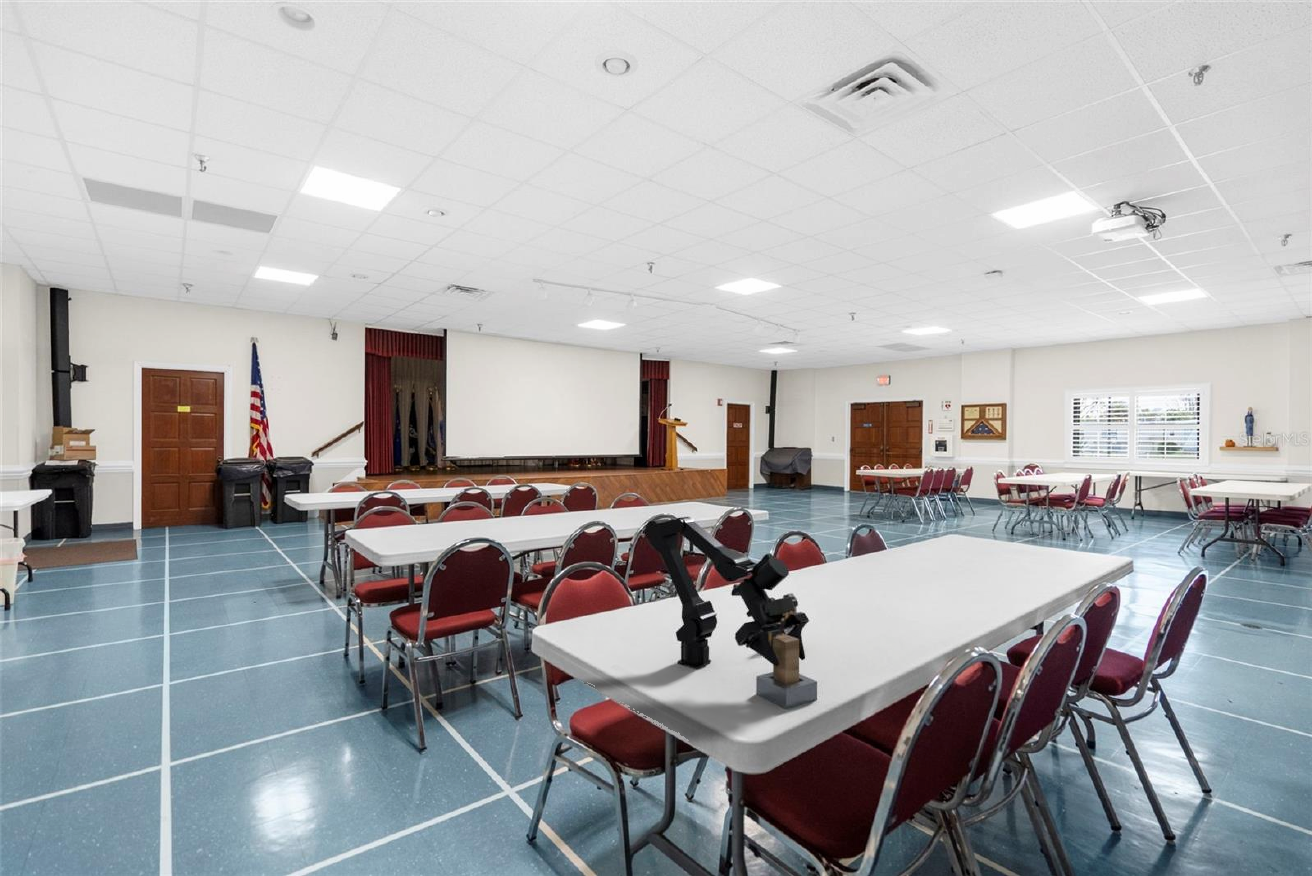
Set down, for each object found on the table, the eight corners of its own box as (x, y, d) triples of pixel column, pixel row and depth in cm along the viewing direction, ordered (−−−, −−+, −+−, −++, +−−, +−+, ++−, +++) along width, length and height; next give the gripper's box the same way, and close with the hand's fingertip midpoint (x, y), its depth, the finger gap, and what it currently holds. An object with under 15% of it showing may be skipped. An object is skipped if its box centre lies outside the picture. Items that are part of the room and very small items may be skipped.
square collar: (756, 694, 139) (756, 676, 139) (786, 685, 144) (786, 668, 144) (786, 709, 131) (786, 690, 131) (817, 699, 136) (817, 681, 136)
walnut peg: (773, 695, 138) (773, 637, 138) (786, 692, 140) (786, 634, 141) (786, 701, 135) (786, 642, 135) (799, 697, 137) (799, 639, 137)
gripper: (743, 587, 136) (778, 651, 127) (803, 577, 146) (840, 636, 137) (720, 614, 143) (752, 677, 133) (779, 603, 153) (813, 661, 143)
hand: (791, 662), depth 136 cm, fingers open, 8 cm apart
